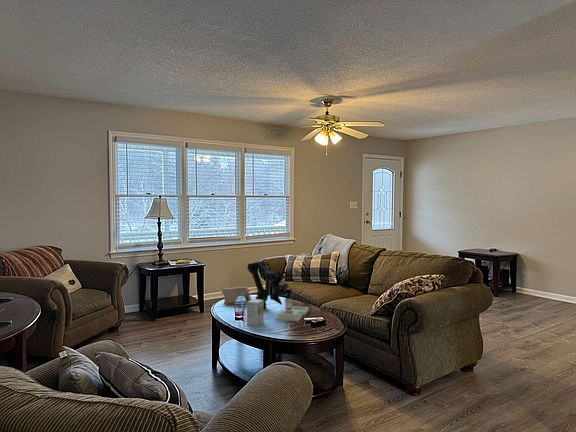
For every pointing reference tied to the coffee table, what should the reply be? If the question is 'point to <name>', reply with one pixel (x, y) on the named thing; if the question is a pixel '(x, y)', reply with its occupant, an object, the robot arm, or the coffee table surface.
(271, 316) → the coffee table surface
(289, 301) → the cream rounded cylinder
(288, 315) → the grey block with recess
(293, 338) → the coffee table surface
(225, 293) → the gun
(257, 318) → the supplement box
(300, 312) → the parts tray
